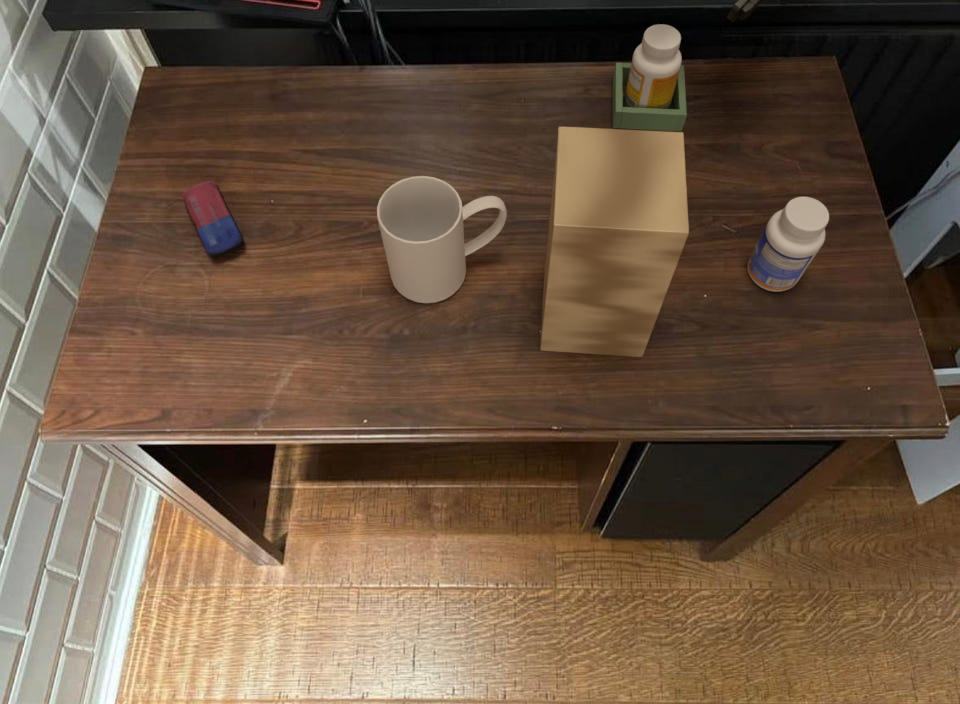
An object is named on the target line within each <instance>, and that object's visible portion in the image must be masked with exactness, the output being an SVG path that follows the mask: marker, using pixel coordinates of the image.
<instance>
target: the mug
mask: <svg viewBox="0 0 960 704" xmlns="http://www.w3.org/2000/svg"><path fill="white" fill-rule="evenodd" d="M487 209H498V210H499V213H498V216H497V218H496V219H495V221H494V223H493V224H492V225H491V226H490V227H488V228H487V229H485V231H484V232H482V233H480V234H479V235H478V236H476V237H474V238H473V239H471V240H470V241H467V242H466V243H465V231H464V229H465V228H464V220H466V219H468V218H469V217H471V216H472V215H474V214H476V213H478V212H480V211H483V210H487ZM507 217H508V210H507V207H506V204H505V201H503V200H502V199H501V198H500V197H498V196H495V195H486V196H481V197H478V198H476V199H474V200H471V201H470V202H468V203H466V204H465V205H463V201H462V198H461V197H460V195H459V193H458V191H457V190H456V189H455V188H454V187H453V185H451V184H449V183H448V182H446V181H445V180H443V179H440V178H437V177H434V176H429V175H428V176H427V175H417V176H416V175H415V176H410V177H406V178H403V179H400V180H399V181H397V182H394V183H393V184H392V185H390V186H389V187H388V188H387V189H386V190H384V191H383V194H382V195H381V197H380V198H379V200H378V203H377V206H376V218H377V223H378V226H379V231H380V235H381V236H380V237H381V240H382V246H383V248H384V253H385V254H384V255H385V258H386V263H387V265H388V266H387V267H388V271H389V276H390V279H391V282H392V284H393V286H394V288H395V289H396V290H397V292H398V293H399V294H400V295H401V296H403V297H404V298H406V299H408V300H409V301H412V302H415V303H421V304H435V303H439V302H442V301H444V300H447V299H448V298H450V297H452V296H453V295H454V294H455V293H456V292H457V291H458V290H460V288H461V287H462V285H463V283H464V281H465V278H466V274H467V263H466V257H467V256H468V255H470V254H472V253H474V252H476V251H478V250H480V249H482V248H483V247H485V246H486V245H487V244H489V243H490V242H491V241H493V240H494V239H495V238H496V237H498V235H499V234H500V233H501V232H502V230H503V229H504V226H505V224H506V221H507Z"/></svg>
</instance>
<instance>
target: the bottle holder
mask: <svg viewBox="0 0 960 704" xmlns="http://www.w3.org/2000/svg"><path fill="white" fill-rule="evenodd" d="M631 64H632V62H615V65H614V71H613V77H612V129H623V130H643V131H663V132H683V129H684V126H685V123H686V120H687V116H688V111H687V95H686V94H687V93H686V79H685V78H686V77H685V65H682V64H681V67H680V70H679V74H678V78H677V82H676V85H675V89H674V93H673V97H672V100H673V108H669V109H655V108H634V107H625V106H623V105H624V104H623V103H624V102H623V100H624V98H623V97H624V93H623V90H624V89H623V86H624V85H626V86H627V84H628V79H629V74H630V69H631Z"/></svg>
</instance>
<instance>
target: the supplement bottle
mask: <svg viewBox="0 0 960 704" xmlns="http://www.w3.org/2000/svg"><path fill="white" fill-rule="evenodd" d="M681 40H682V36H681V33H680V31H679V30H678V29H676V28H675V27H674V26H672V25H669V24H664V23H663V24H660V23H658V24H653V25H651V26H649V27H647V28H646V30H645V31H644V33H643V37H642V40H641V42H640V44H639V45H637V47H635V50H634V51H633V54H632V58H631V63H632V64H631V69H630V74H629V79H628V84H627V85H626V89H625V94H624V102H623V103H624V107H634V108H655V109H670V108H671V104H672V101H673V93H674V89H675V85H676V82H677V78H678V74H679V70H680V67H681V65H682V63H683V60H682V59H683V58H682V53H681V51H680V45H681V42H682V41H681Z"/></svg>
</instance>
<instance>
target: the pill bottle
mask: <svg viewBox="0 0 960 704" xmlns="http://www.w3.org/2000/svg"><path fill="white" fill-rule="evenodd" d="M829 221H830V213H829V210H828V208H827V206H825V204H824V203H822V202H821V201H820V200H818V199H816V198H814V197H810V196H797V197H794V198H792V199H790V200H789V201H788V202H787V204H786V205H785V207H784V208H782V209H780V210H778V211H776V212H775V213H774V214H773V215H772V216H771V217H770V218H769V220H768V222H767V223H766V226H765V227H764V229H763V231H762V233H761V235H760V237H759V239H758V240H757V242H756V244H755V245H754V248H753V250H752V252H751V254H750V256H749V258H748V260H747V264H746V265H747V266H746V267H747V268H746V269H747V273H748V276H749V278H750V279H751V280H752V281H753V283H754V284H756V285H757V286H758V287H759V288H761V289H763V290H766V291H768V292H775V293H777V292H785V291H787V290H790V289H792V288H794V286H796V284H798V282H799V281H800V279H801V278H802V277H803V275H804V274H805V272H806V270H807V269H808V267H809V266H810V264H811V262H812V261H813V260H814V258H815V257H816V255H817V254H818V252H819V251H820V250H821V248H822V247H823V245H824V243H825V241H826V227H827V225H828V224H829Z"/></svg>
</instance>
